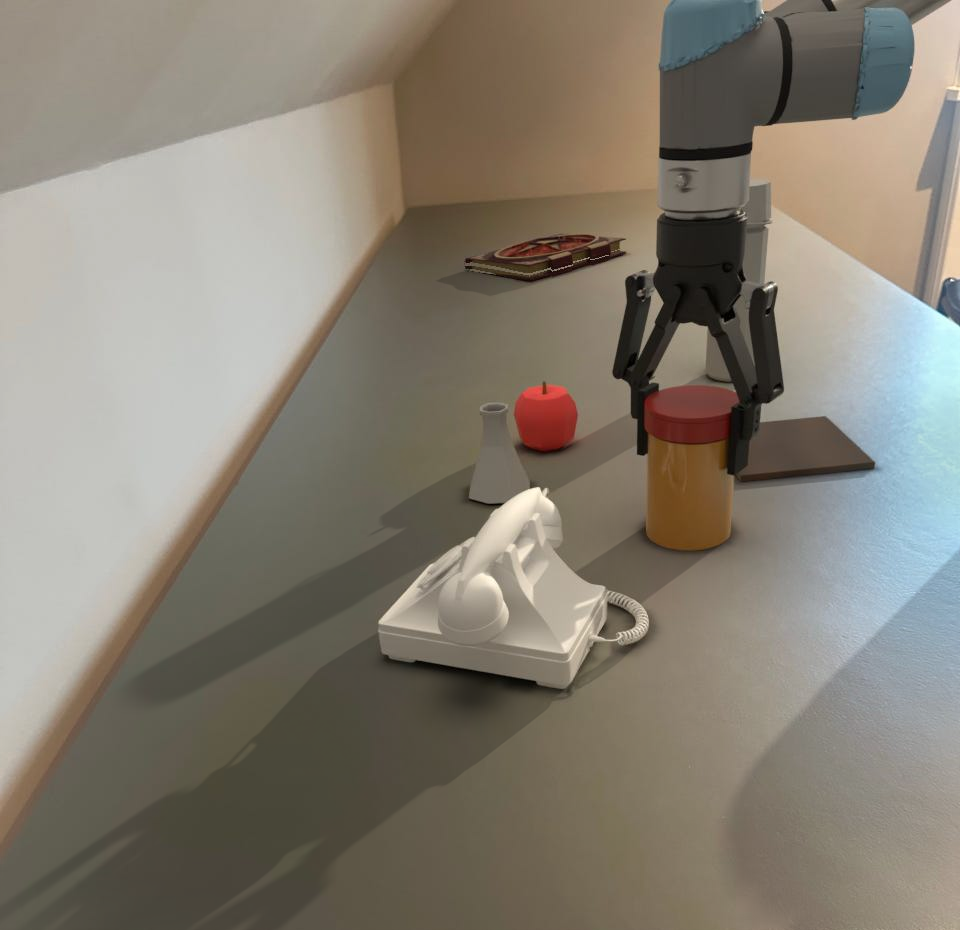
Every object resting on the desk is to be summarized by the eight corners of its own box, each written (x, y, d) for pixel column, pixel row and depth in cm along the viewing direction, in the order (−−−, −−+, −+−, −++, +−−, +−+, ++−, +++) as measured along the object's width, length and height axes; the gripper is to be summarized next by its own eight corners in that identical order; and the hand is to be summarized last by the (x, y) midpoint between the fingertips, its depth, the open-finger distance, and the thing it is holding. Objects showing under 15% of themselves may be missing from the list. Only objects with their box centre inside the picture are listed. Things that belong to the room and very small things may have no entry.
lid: (674, 403, 98) (675, 379, 96) (759, 417, 93) (761, 393, 91) (625, 432, 92) (626, 408, 91) (712, 450, 87) (714, 424, 86)
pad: (824, 421, 120) (825, 415, 120) (874, 468, 108) (875, 462, 107) (705, 433, 120) (705, 427, 120) (740, 482, 107) (741, 475, 107)
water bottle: (756, 384, 133) (773, 186, 120) (698, 382, 136) (708, 188, 122) (763, 364, 141) (778, 174, 127) (707, 362, 143) (717, 176, 130)
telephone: (473, 548, 99) (463, 431, 92) (677, 573, 91) (681, 448, 84) (355, 686, 80) (331, 551, 73) (600, 733, 72) (598, 587, 65)
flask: (520, 508, 106) (514, 420, 100) (458, 503, 108) (450, 417, 103) (539, 481, 112) (535, 397, 106) (481, 477, 114) (474, 394, 108)
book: (559, 248, 222) (558, 225, 220) (629, 255, 208) (628, 230, 206) (465, 273, 208) (463, 249, 205) (533, 283, 193) (531, 256, 191)
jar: (717, 509, 102) (725, 389, 95) (740, 546, 95) (750, 418, 88) (638, 517, 102) (639, 397, 95) (655, 554, 95) (659, 427, 88)
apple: (538, 462, 116) (535, 397, 112) (502, 443, 122) (498, 381, 118) (591, 445, 120) (591, 381, 115) (554, 427, 125) (551, 366, 121)
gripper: (570, 212, 86) (576, 452, 98) (807, 225, 74) (780, 497, 86) (616, 197, 91) (616, 428, 103) (846, 207, 78) (815, 468, 90)
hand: (690, 459), depth 94 cm, fingers closed on lid, 9 cm apart
